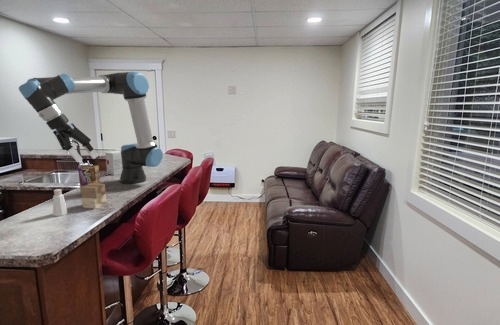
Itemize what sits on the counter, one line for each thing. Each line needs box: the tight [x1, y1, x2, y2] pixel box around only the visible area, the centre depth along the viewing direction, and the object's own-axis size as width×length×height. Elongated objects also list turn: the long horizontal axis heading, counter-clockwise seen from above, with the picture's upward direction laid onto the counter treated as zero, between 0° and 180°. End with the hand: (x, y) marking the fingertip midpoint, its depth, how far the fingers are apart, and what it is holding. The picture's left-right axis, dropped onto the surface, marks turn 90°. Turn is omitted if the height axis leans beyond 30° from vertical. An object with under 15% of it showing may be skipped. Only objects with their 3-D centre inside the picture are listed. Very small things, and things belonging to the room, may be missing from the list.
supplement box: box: [104, 150, 122, 176], centre depth 197 cm, size 9×9×15 cm
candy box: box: [77, 165, 101, 196], centre depth 151 cm, size 9×4×15 cm, turn 89°
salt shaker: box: [52, 188, 68, 217], centre depth 123 cm, size 5×5×11 cm
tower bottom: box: [81, 194, 107, 210], centre depth 135 cm, size 7×7×5 cm
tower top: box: [80, 183, 107, 199], centre depth 134 cm, size 7×7×5 cm
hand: (87, 159), depth 128 cm, fingers open, 13 cm apart
